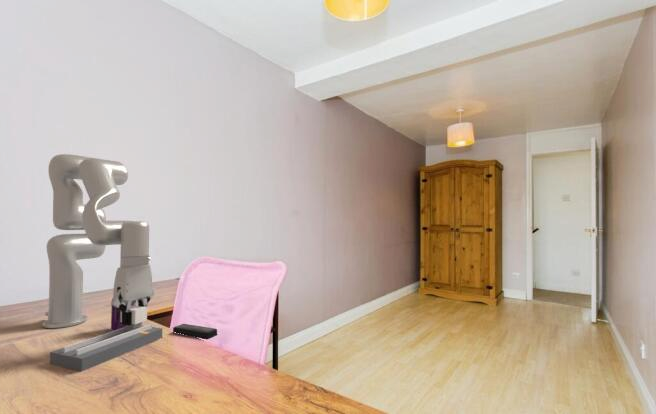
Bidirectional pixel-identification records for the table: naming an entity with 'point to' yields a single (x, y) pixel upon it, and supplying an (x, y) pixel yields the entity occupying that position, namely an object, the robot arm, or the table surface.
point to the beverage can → (117, 316)
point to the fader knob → (136, 317)
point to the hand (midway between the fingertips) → (133, 321)
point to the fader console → (103, 347)
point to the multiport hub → (195, 331)
